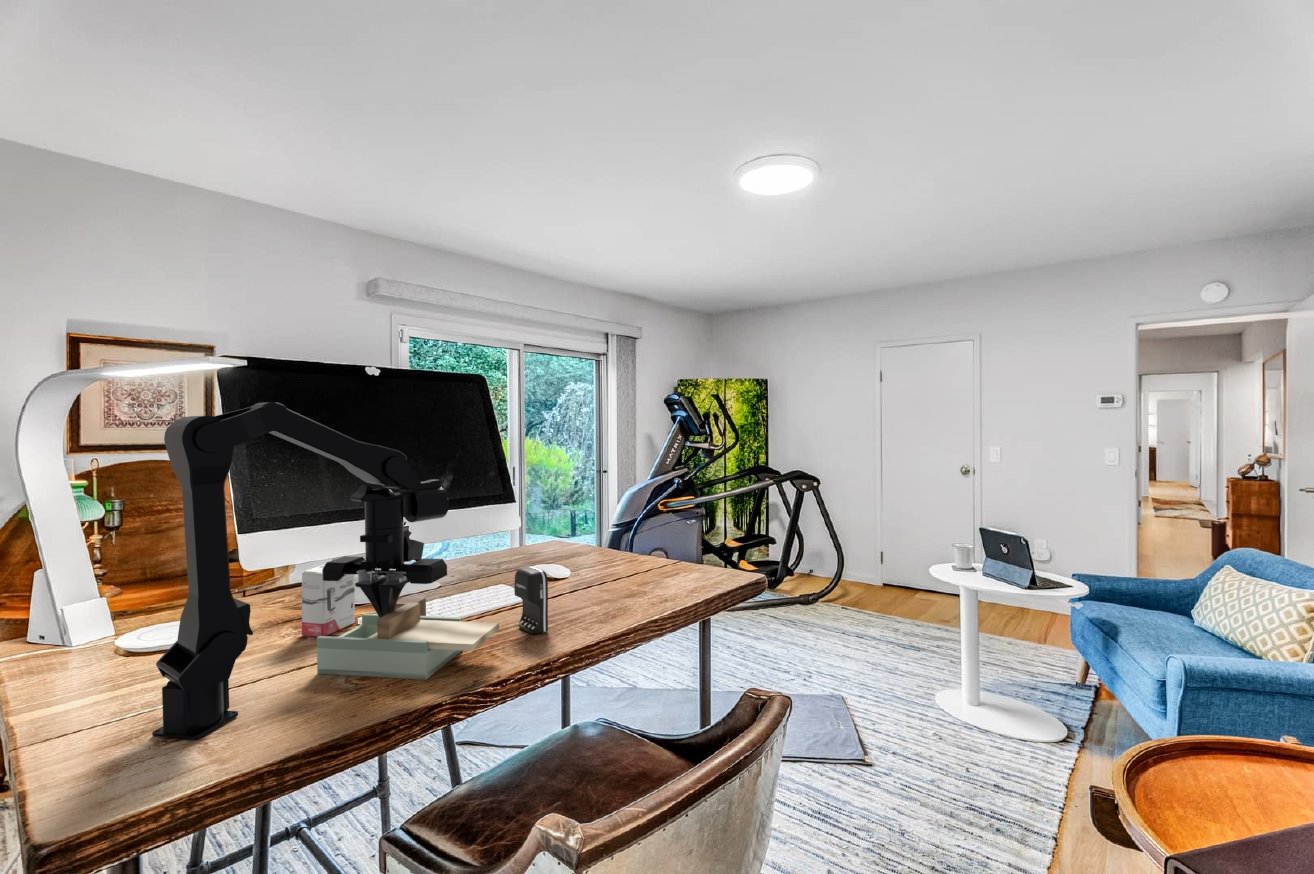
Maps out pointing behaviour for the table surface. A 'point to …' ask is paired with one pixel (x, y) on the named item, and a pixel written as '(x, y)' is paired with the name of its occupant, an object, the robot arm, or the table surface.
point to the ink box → (326, 603)
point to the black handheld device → (532, 599)
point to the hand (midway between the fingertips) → (386, 622)
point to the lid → (433, 630)
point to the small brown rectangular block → (413, 600)
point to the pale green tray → (380, 653)
